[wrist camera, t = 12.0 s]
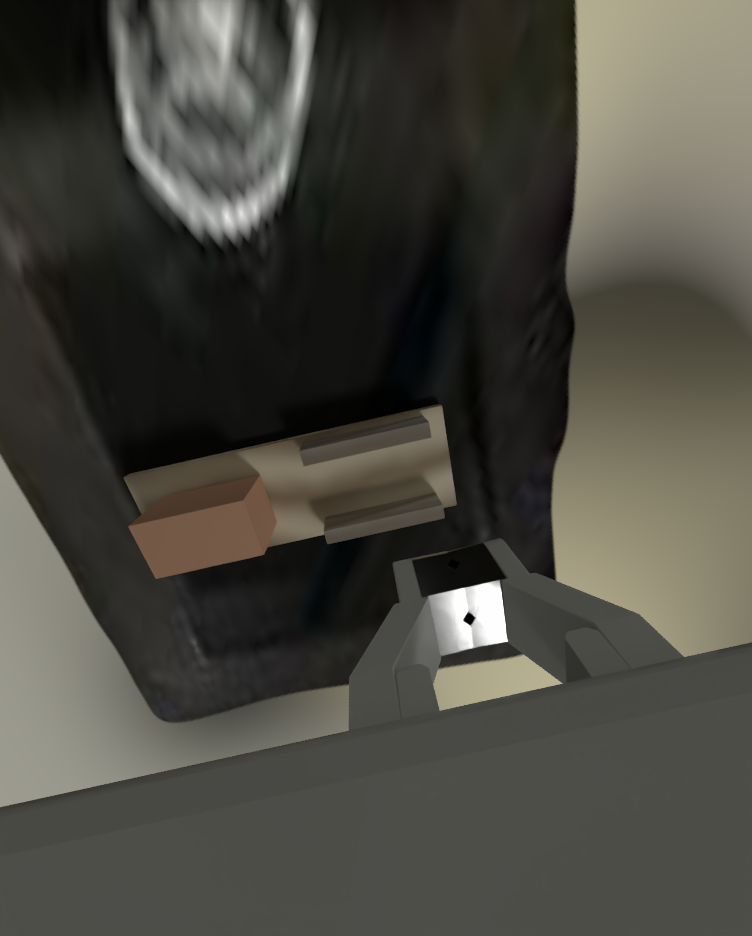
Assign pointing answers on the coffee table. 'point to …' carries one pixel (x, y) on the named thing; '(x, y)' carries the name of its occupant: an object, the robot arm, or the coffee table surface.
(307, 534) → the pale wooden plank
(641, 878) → the robot arm
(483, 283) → the coffee table surface
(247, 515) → the terracotta block
